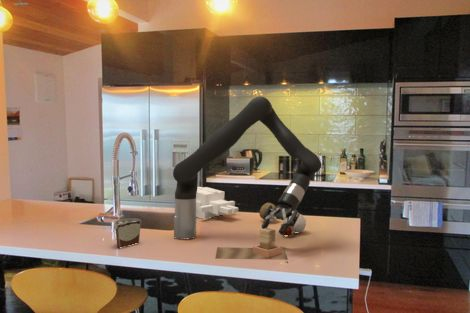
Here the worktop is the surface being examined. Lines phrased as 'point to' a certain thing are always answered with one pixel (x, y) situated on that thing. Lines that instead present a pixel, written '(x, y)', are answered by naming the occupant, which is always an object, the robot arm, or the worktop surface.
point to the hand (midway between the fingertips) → (271, 231)
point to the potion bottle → (296, 226)
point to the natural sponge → (265, 209)
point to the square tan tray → (267, 251)
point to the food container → (127, 231)
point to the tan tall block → (267, 238)
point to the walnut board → (244, 254)
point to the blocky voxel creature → (212, 203)
